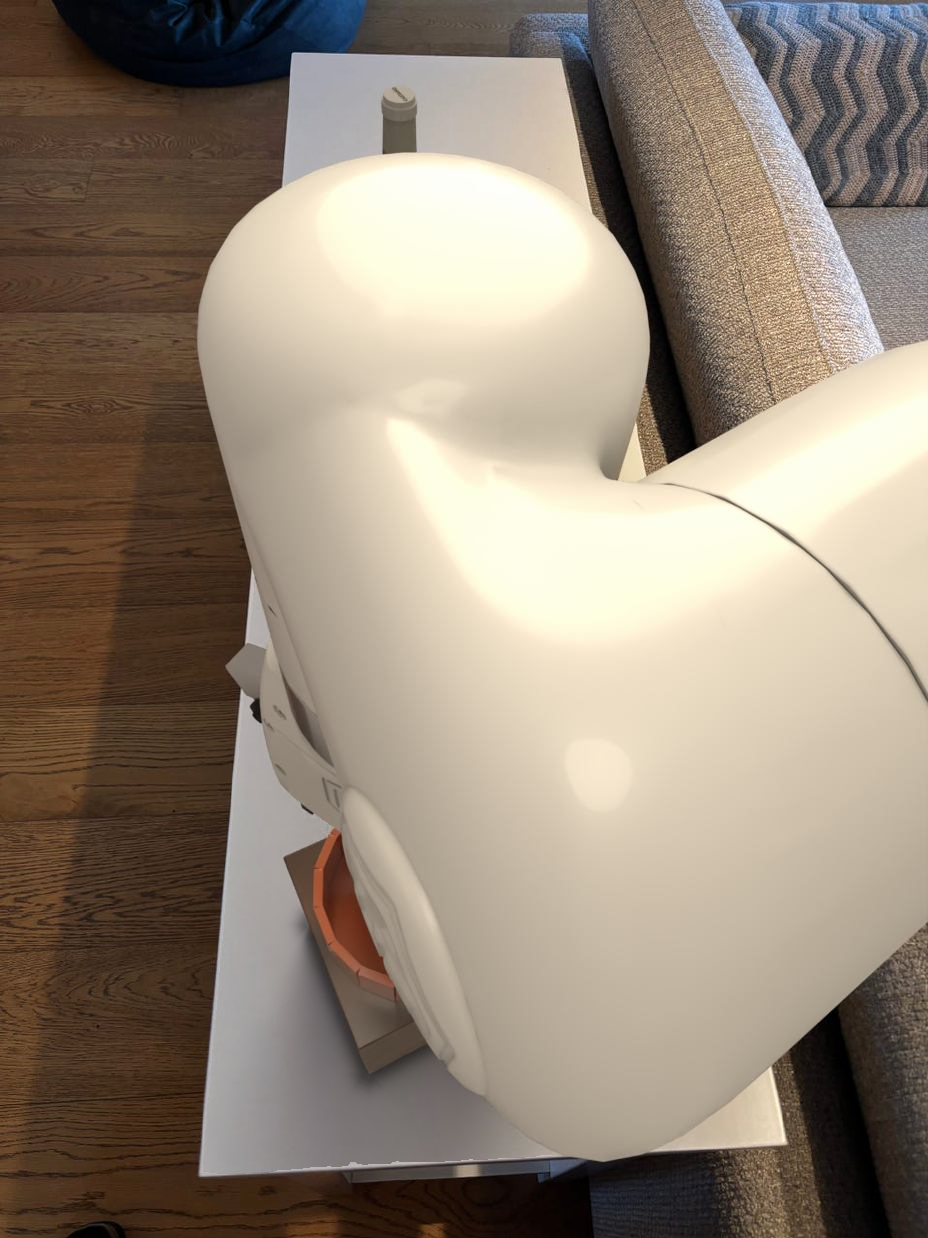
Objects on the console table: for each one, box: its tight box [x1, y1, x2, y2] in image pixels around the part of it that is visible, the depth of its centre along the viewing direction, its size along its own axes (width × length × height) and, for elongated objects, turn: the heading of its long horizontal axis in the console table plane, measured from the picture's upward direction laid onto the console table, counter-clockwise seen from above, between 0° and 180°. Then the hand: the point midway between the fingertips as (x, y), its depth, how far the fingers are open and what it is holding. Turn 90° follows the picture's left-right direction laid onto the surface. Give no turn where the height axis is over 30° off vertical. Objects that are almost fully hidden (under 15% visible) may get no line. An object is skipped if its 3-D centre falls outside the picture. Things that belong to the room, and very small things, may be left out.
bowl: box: [313, 827, 403, 1002], centre depth 47 cm, size 10×10×4 cm
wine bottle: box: [380, 85, 418, 155], centre depth 80 cm, size 8×8×30 cm
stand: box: [282, 837, 428, 1075], centre depth 56 cm, size 11×11×17 cm
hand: (418, 846), depth 38 cm, fingers open, 9 cm apart
